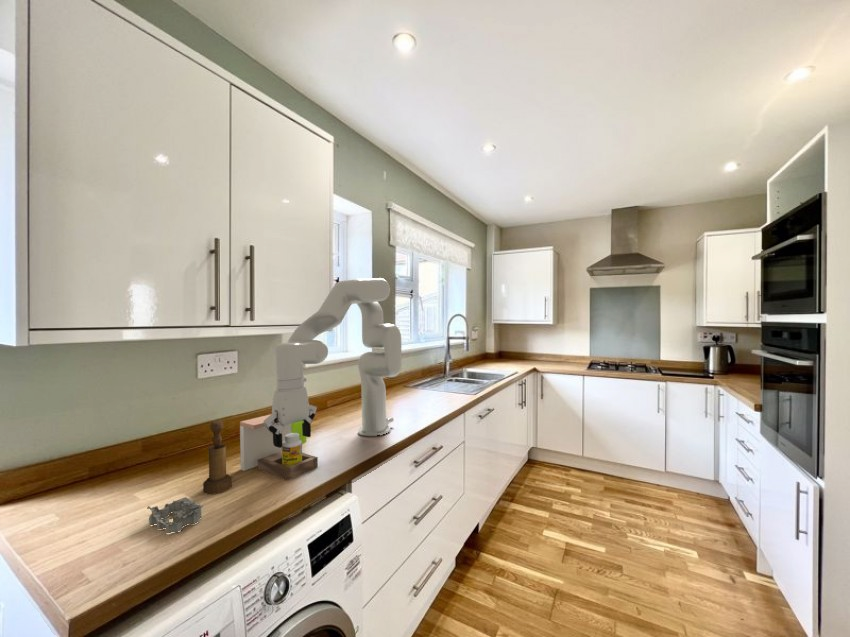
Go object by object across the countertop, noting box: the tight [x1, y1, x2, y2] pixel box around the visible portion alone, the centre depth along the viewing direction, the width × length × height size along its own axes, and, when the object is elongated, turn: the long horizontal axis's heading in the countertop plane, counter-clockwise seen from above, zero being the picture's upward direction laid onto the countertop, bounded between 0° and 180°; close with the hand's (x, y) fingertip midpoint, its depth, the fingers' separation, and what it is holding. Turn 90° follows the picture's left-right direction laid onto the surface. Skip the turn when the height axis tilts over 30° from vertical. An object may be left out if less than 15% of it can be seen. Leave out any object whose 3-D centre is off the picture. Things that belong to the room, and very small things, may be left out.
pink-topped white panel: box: [239, 413, 291, 472], centre depth 111 cm, size 16×8×14 cm, turn 145°
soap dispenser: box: [291, 420, 307, 444], centre depth 130 cm, size 6×7×20 cm
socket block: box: [257, 451, 319, 481], centre depth 106 cm, size 11×14×3 cm
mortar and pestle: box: [202, 419, 233, 495], centre depth 94 cm, size 7×6×18 cm
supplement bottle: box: [282, 433, 303, 467], centre depth 105 cm, size 6×6×10 cm
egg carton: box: [146, 496, 204, 534], centre depth 78 cm, size 11×8×4 cm
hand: (292, 441), depth 106 cm, fingers open, 9 cm apart
